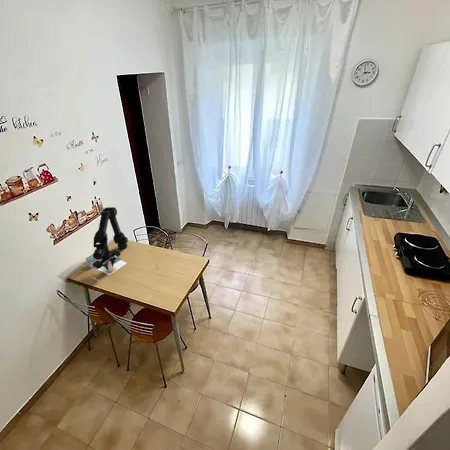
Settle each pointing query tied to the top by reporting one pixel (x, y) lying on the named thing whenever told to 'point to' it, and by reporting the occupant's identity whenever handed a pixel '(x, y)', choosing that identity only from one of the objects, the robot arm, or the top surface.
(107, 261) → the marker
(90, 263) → the medicine box
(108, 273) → the board with colored squares
